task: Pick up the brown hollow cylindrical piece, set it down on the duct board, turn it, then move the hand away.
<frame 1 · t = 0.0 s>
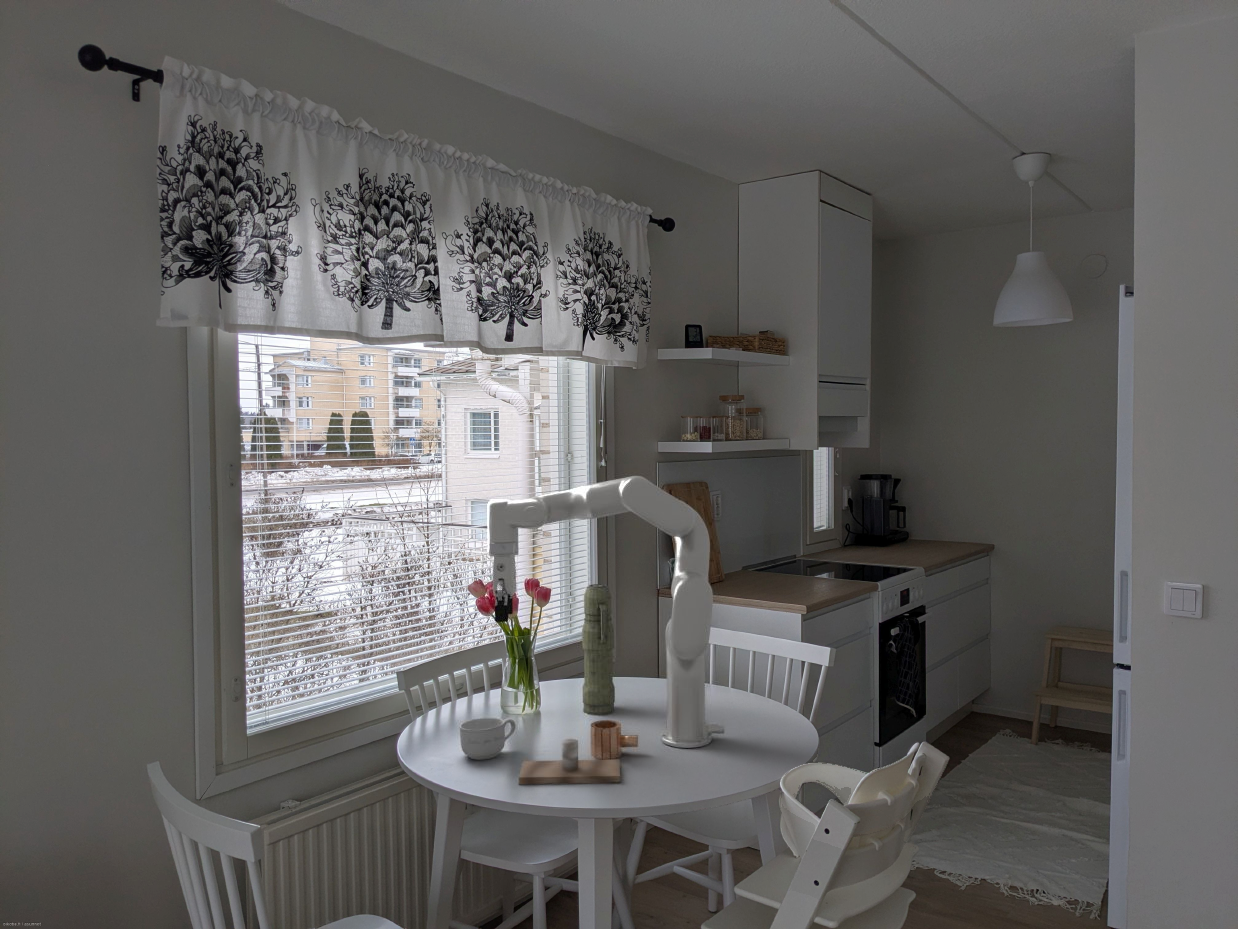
hand: (504, 617, 214), 31 cm above the table, tool pointing down, fingers open, 9 cm apart
teacup: (489, 755, 206), on the table
thermos: (598, 711, 241), on the table
brown hollow cylindrical piece: (606, 754, 206), on the table
duct board: (570, 775, 192), on the table
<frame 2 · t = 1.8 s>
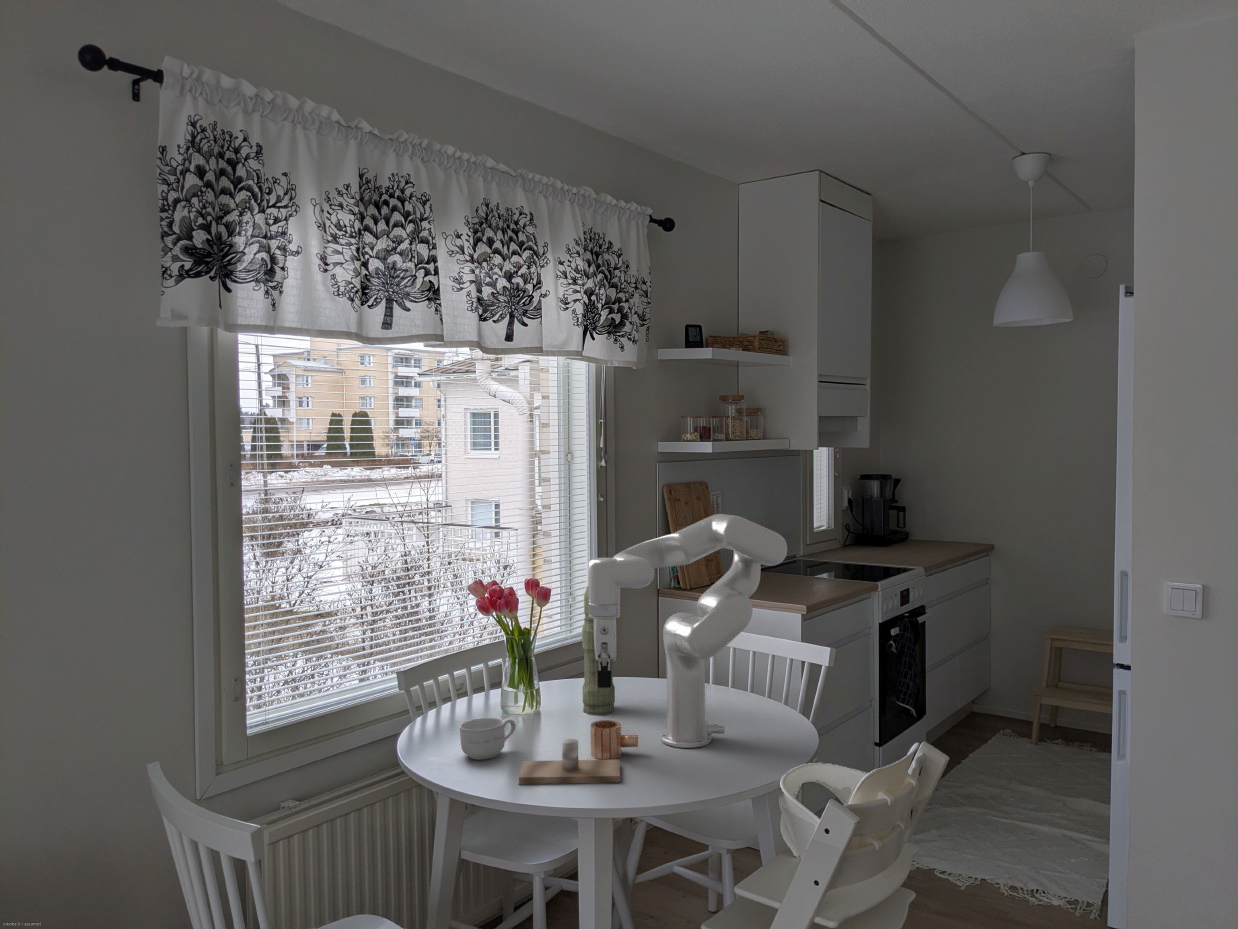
hand: (604, 681, 205), 17 cm above the table, tool pointing down, fingers open, 9 cm apart
nothing on the table moved.
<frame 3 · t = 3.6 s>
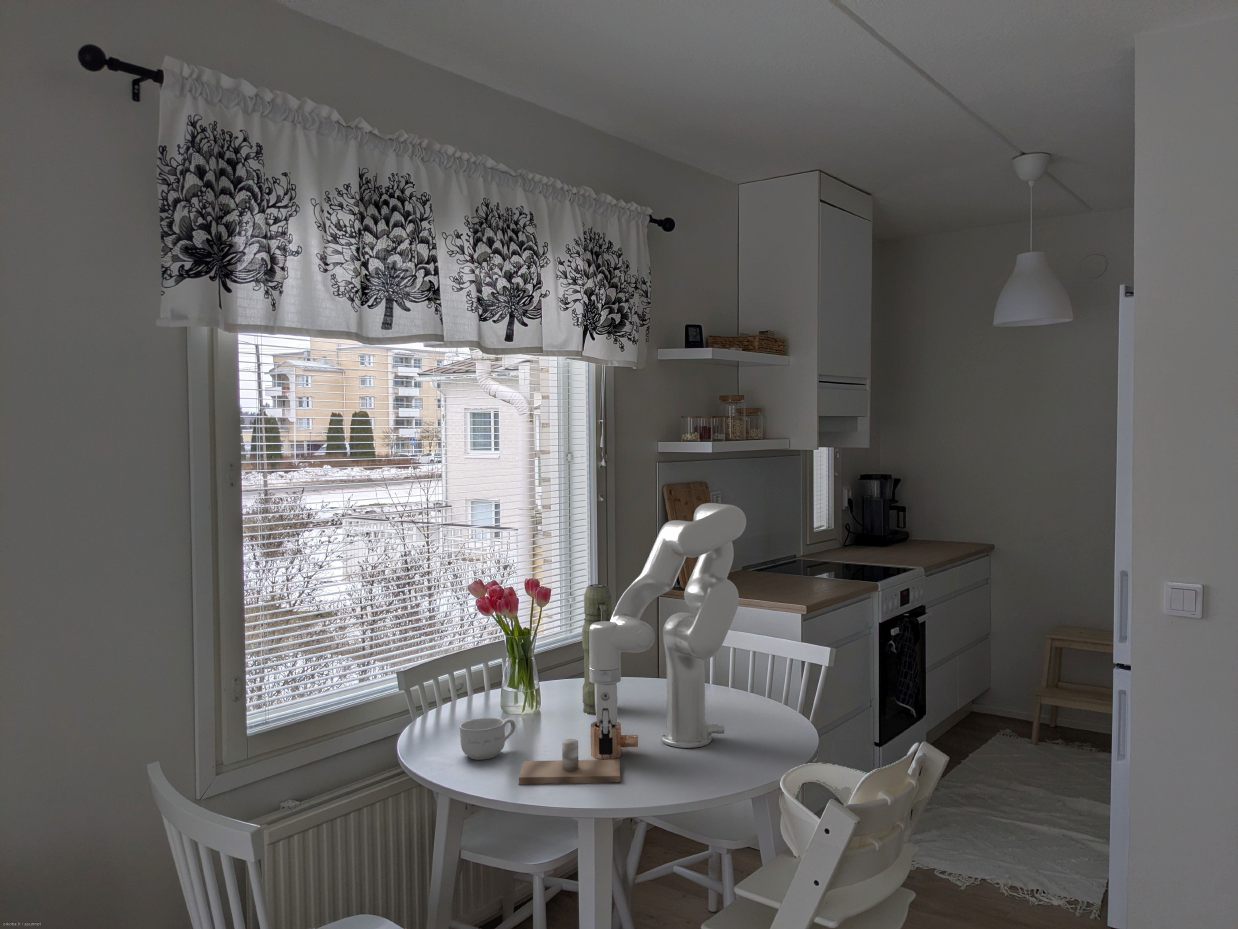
hand: (605, 748, 206), 1 cm above the table, tool pointing down, fingers closed on brown hollow cylindrical piece, 7 cm apart
brown hollow cylindrical piece: (606, 754, 206), on the table, touching gripper
everything else where it was.
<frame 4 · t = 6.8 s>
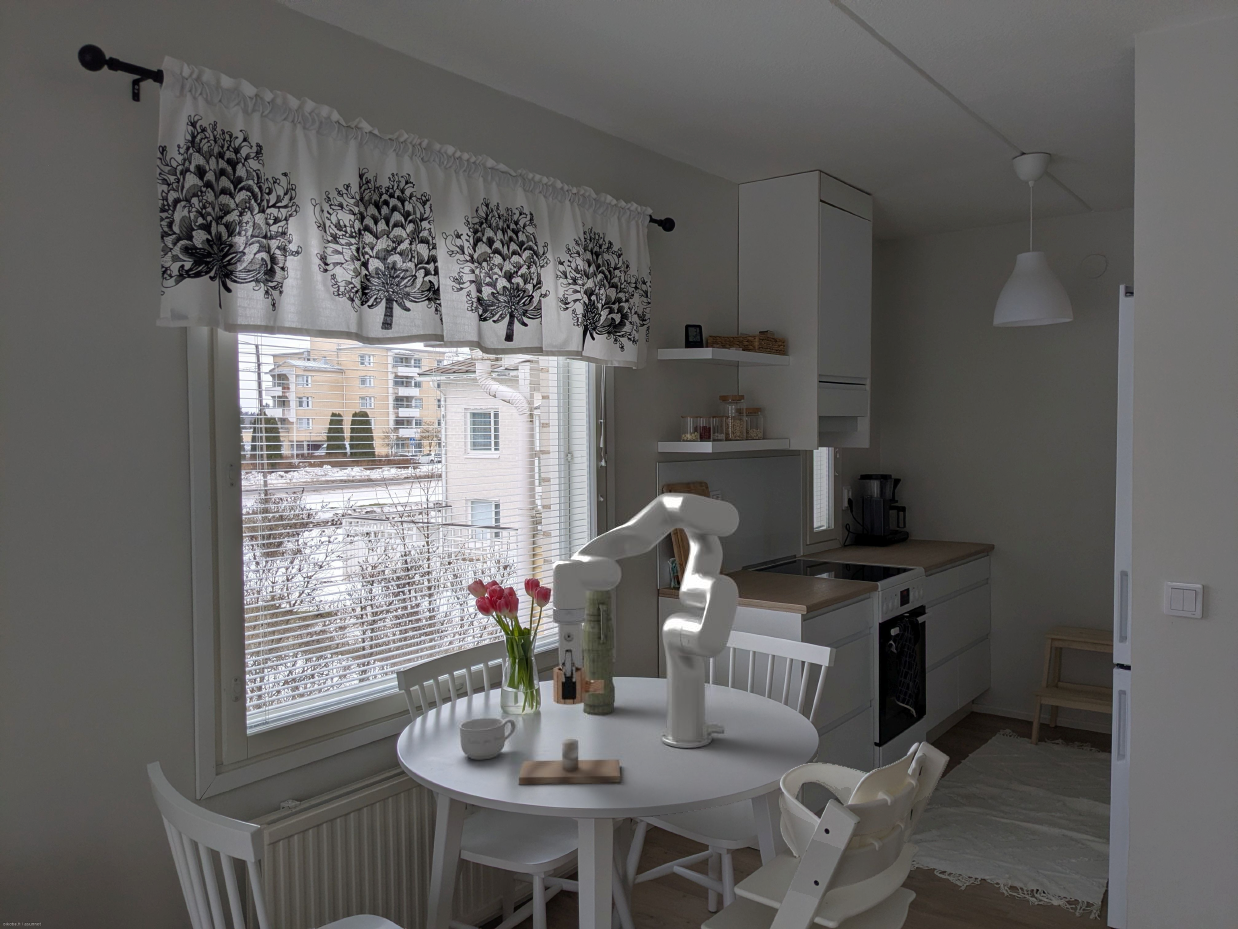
hand: (569, 693, 193), 18 cm above the table, tool pointing down, fingers closed on brown hollow cylindrical piece, 7 cm apart
brown hollow cylindrical piece: (569, 700, 193), point 17 cm above the table, touching gripper
everything else where it was.
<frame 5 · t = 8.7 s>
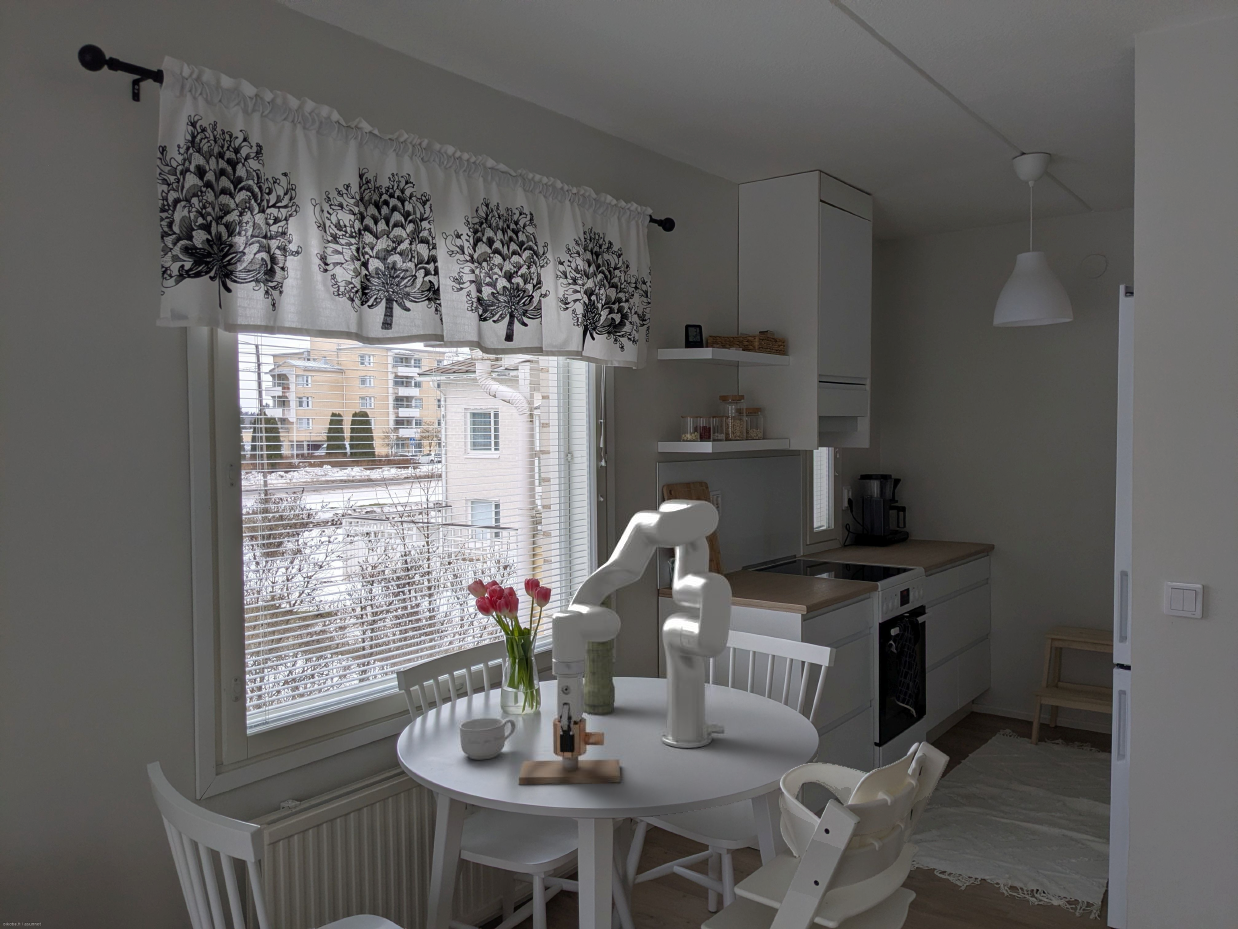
hand: (570, 745, 192), 7 cm above the table, tool pointing down, fingers closed on brown hollow cylindrical piece, 7 cm apart
brown hollow cylindrical piece: (570, 751, 192), point 5 cm above the table, touching gripper
everything else where it was.
when the fingers open (3 cm above the table, at t = 10.2 s): brown hollow cylindrical piece stays where it is, resting on duct board.
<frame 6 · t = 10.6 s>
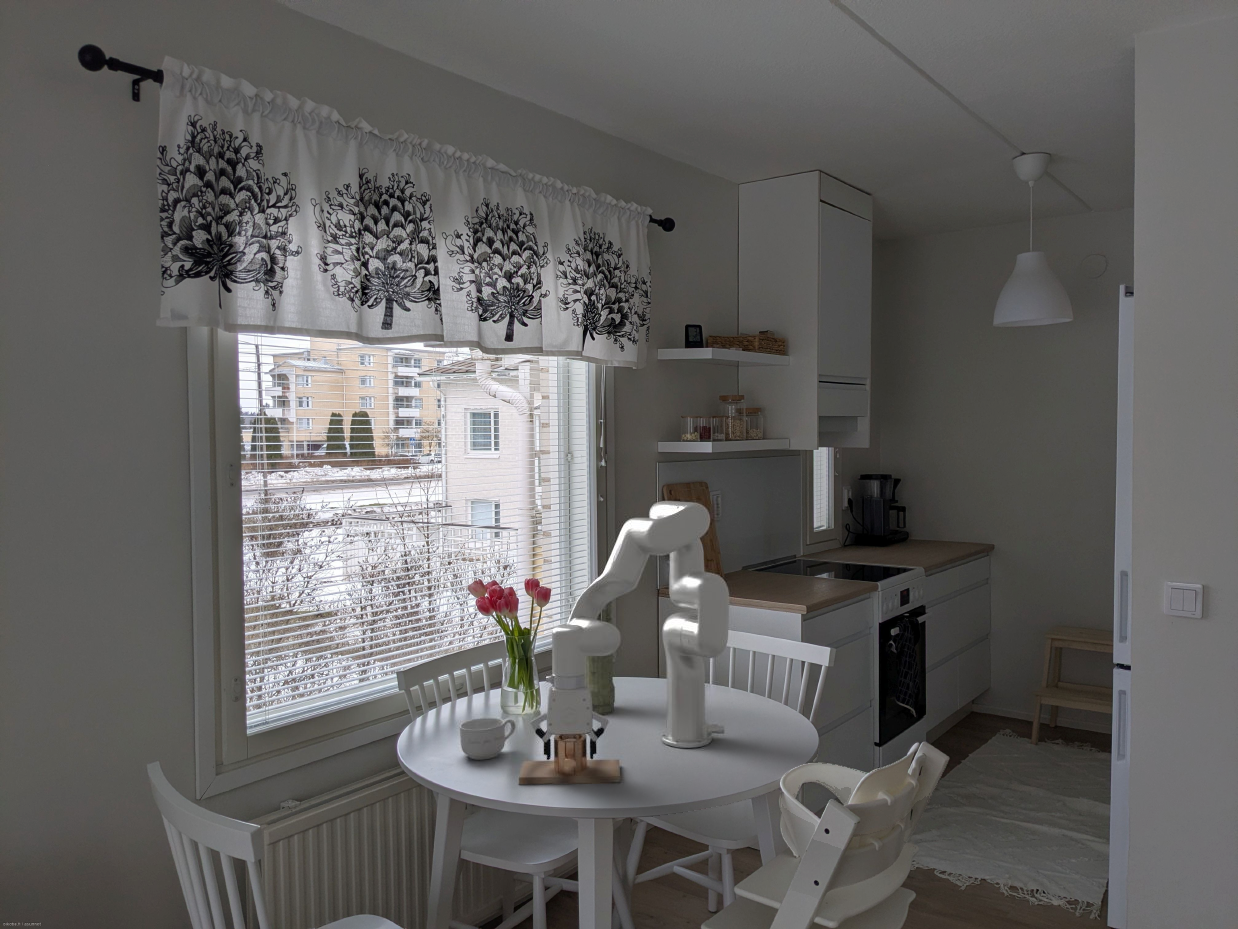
hand: (570, 757, 192), 4 cm above the table, tool pointing down, fingers open, 9 cm apart
brown hollow cylindrical piece: (570, 768, 193), point 1 cm above the table, touching duct board
everything else where it was.
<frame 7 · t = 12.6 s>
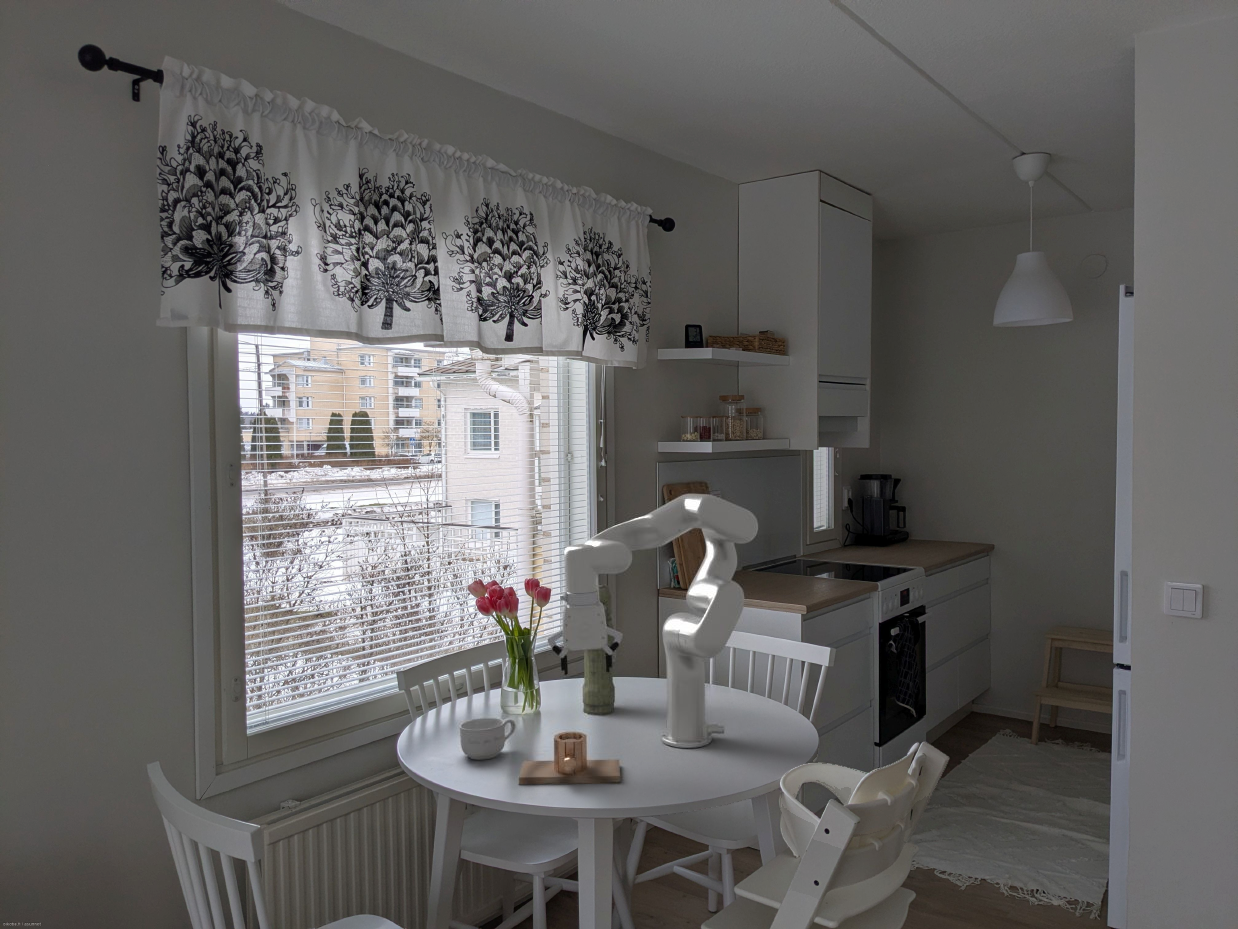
hand: (587, 672, 199), 21 cm above the table, tool pointing down, fingers open, 9 cm apart
nothing on the table moved.
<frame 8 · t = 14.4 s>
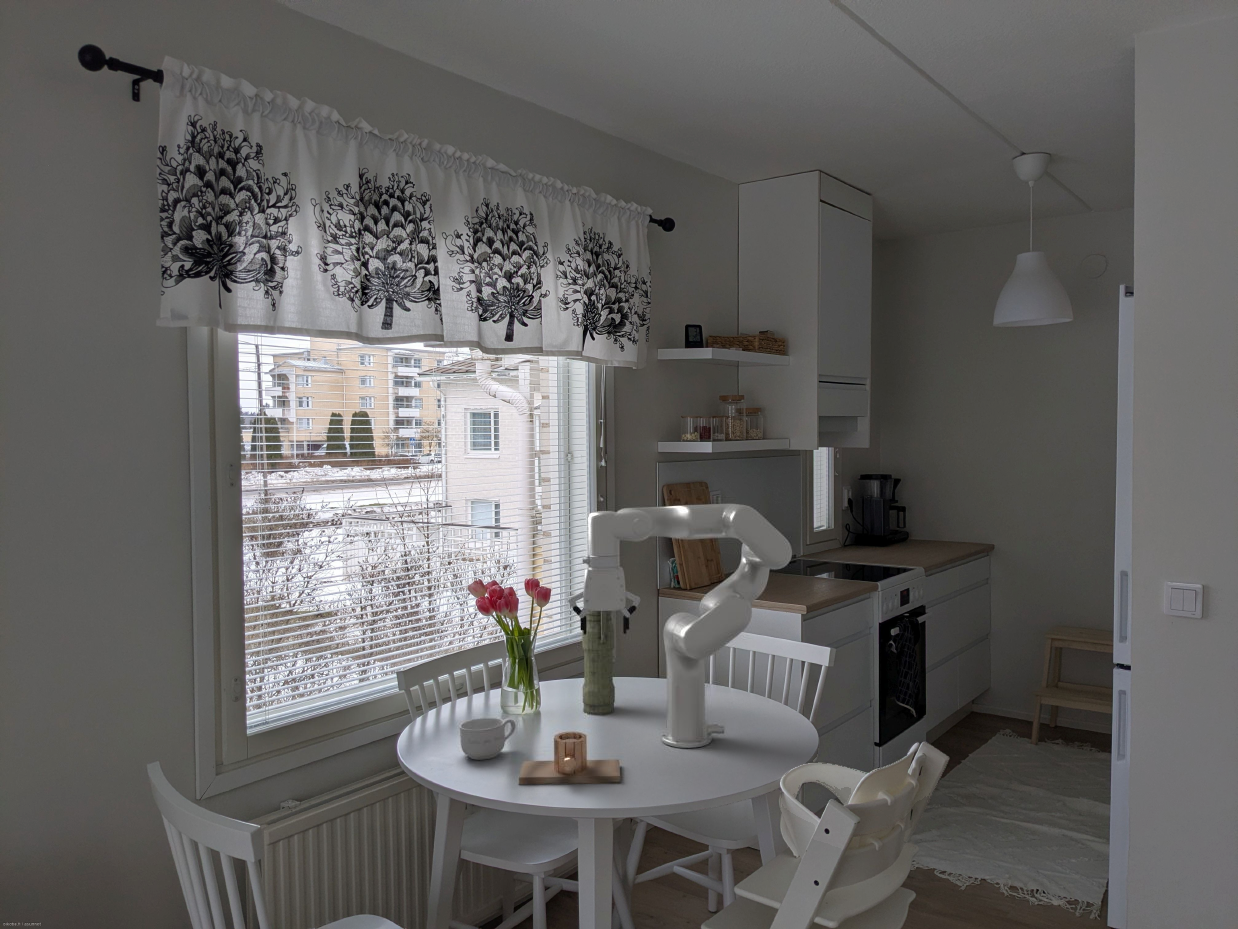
hand: (604, 633, 208), 28 cm above the table, tool pointing down, fingers open, 9 cm apart
nothing on the table moved.
at the end: brown hollow cylindrical piece 0.1 cm off-centre on the duct board, point 1.5 cm above the duct board's base; brown hollow cylindrical piece tilted 0°; the gripper is holding nothing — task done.
